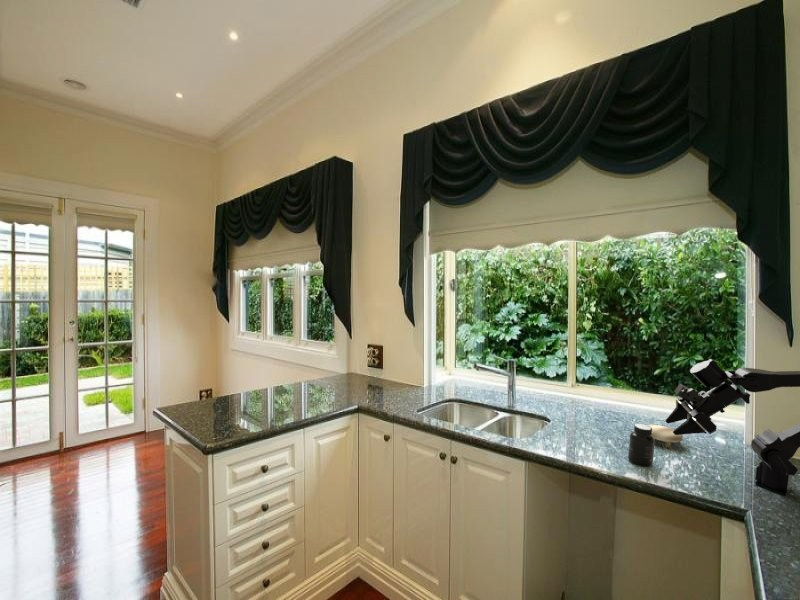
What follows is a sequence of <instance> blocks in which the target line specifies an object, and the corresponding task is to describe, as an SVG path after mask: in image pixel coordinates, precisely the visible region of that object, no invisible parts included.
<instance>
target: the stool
mask: <svg viewBox="0 0 800 600" xmlns="http://www.w3.org/2000/svg"><path fill="white" fill-rule="evenodd" d="M647 425H648V426H650V427H651V428H652V436H653V437H654V439H655V440H657V441H661V442H664V448H666V449H671V448H672V447H671V446H672V443H675V444H678V445H679V444H681V442H682V441H683V438H684V436H683V435H684V434H683V435H675V434H674V433H673V431H674V430H675V429H674V428H670V427H667V426H663V425H658V424H647Z"/></svg>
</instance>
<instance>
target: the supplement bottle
mask: <svg viewBox="0 0 800 600" xmlns="http://www.w3.org/2000/svg"><path fill="white" fill-rule="evenodd" d="M648 425H649V424H644V423H635V424H634V427H633V431H632V432H631V433H630V435H629V441H628V454H627V458H628V460H629V462H630V463H631V464H633V465H635V466H638V467H643V468H650V467H652V466H653V464H654V454H655V445H656V444H655V443H656V439H654V437H653V436H652V428H651V427H650V426H648Z"/></svg>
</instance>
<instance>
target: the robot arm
mask: <svg viewBox="0 0 800 600" xmlns="http://www.w3.org/2000/svg"><path fill="white" fill-rule="evenodd" d="M689 372H690V373H691V374H692V375H693V376H694V377H695V378H696V379H697V380H698V381H699V382H700V384H702V385H703V386H704V387H705V388H710V390H708V391H705V390H701V391H698V390H696V389H693V388H692V387H688V386H686V385H684V384H682V383H679V384H678V386H677V387H676V388H675V390H674V391H673V392H674V393H675V394H676V397H675V398H676V400H675V408H674V409H673V411H672V412H671V413H670V414H669V416H667V418H665V420H664V421H665V423H666V424H672V423H676V422H679V421H684V420H685V421H684V422H682V423H681V424H680V425H679V426H677V427H675V429H674V431H673V433H674V434H675V435H691V434H709V435H711V434H713V433H715V432H716V431H717V425H716V424H715V423H714V422H713V421H712V418H711V417H712V416H714V415H716V414H717V413H719V412H720V413H721V414H723V413H725V412H726V410H724V409H725V408H727V407H729V406H731V405H732V404H734V403H736V402H737V401H739V400H742V401H743V402H744V403H745V404H747V405H749V404H750V403H751V402H750V401H751V400H750V398H751V397H750V396H751V394H750V393H762V392H767V391H772V390H775V389H778V388H799V387H800V370H789V371H788V370H785V371H783V370H782V371H781V370H779V371H775V370H774V371H773V370H765V369H760V368H752V367H751V368H750V367H740V368H737V369H736V370H723V369H722V368H721V367H720V366H719V364H718V363H717V361H715V360H713V359H712V358H709V359H708V360H704V361H701V362H698V363H695V364H694V365H693V366H692V367H691V368H690V370H689ZM727 380H728V381H729V382H730V383H732V384H730V383H729V382H728V381H727ZM738 386H739V387H738ZM740 387H741V388H742V389H744V390H745V391H747V392H744V391H743V390H742V389H741V388H740ZM749 392H750V393H749ZM750 447H751V450H752V451H753V453H755V454H756V455H757V457H758V459H759V460H761V461H760V462H759V464H758V465H757V466H756V469H755V478H754V480H755V482H754V484H755V485H756V486H758V487H762V488H763V489H766V490H769V491H771V492H774V493H777V494H780V495H783V496H786V495H788V494H789V493H791V491H792V490H793V487H792V485H791V484H792V477H793V476H795V475H796V473H797V472H798V471H799V470H798V468H797V467H796V466H795V465H794V464H793V463H792V462H791V461H790V460H791V459H792V458H793V457H794V456H795V454H796V453H797V451H798V450H799V449H800V422H799V423H796V424H795V425H793V426H791V427H789V428H788V429H785V430H783V431H780V432H773V431H772V430H770V429H769V428H768V429H766V430H764V431H763V432H761V433H760V434H755V435H754V438H753V439H752V440H751V441H750Z"/></svg>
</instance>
